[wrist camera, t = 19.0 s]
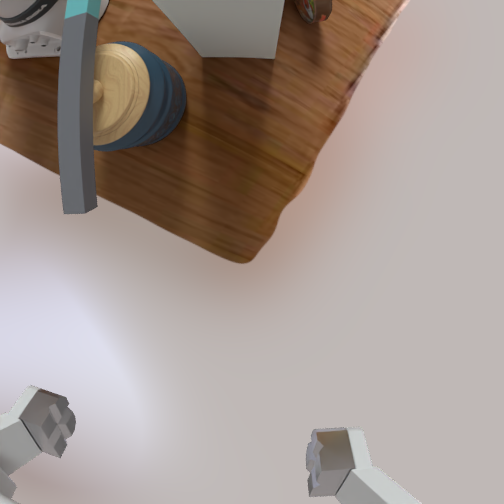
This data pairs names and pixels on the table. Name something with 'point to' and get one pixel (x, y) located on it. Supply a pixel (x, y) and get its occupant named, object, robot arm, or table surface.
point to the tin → (314, 9)
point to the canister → (134, 97)
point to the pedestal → (227, 25)
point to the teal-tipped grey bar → (77, 106)
